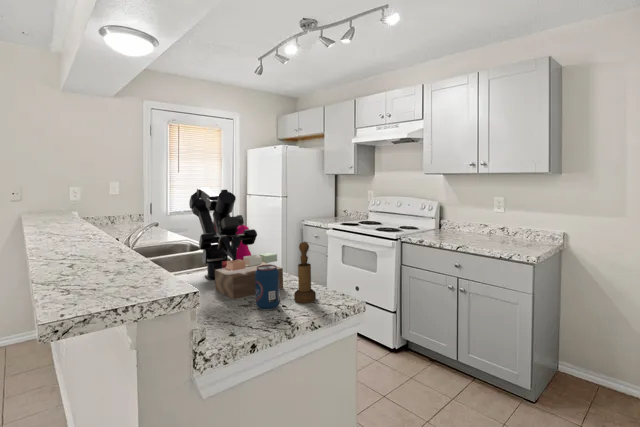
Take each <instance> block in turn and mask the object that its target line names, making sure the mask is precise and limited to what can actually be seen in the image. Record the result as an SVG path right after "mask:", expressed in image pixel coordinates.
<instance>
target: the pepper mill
mask: <svg viewBox="0 0 640 427" xmlns="http://www.w3.org/2000/svg"><path fill="white" fill-rule="evenodd" d="M237 229H238V232H236V234H243V232H244V230H250V228H249V227H248V226H247V225H245V222H244V223H243V225H240V226H238V227H237ZM251 255H252V253H251V250H250V248H249V245H244V244H242V240H241V243H240V246H239V247H238V248H237V255H236V260H237V259H240V260H243V261H244V257H245V256H251Z"/></svg>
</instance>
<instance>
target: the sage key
mask: <svg viewBox="0 0 640 427" xmlns="http://www.w3.org/2000/svg"><path fill="white" fill-rule="evenodd" d="M258 256H261V257H262V262H264V263H268V264H271V263H274V262H278V254H277V253H274V252H266V253H265V252H263V253H260V254H259V255H258Z"/></svg>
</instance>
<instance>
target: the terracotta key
mask: <svg viewBox="0 0 640 427" xmlns="http://www.w3.org/2000/svg"><path fill="white" fill-rule="evenodd" d="M226 267H227V269H230V270H232V271H235V270H240V269H246V265H245V261H243V260H240V259H237V260H232V259H231V260H227V266H226Z"/></svg>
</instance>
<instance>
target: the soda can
mask: <svg viewBox="0 0 640 427" xmlns="http://www.w3.org/2000/svg"><path fill="white" fill-rule="evenodd" d="M277 267H278V265H276V264H271V265H261V266H258V267H257V270H256V272H255V289H256V295H255V304H256V307H257V308H258V309H259V310H261V311H273V310H276V309H278V307H279V305H280V303H281V302H280V300H281V297H280V296H281V294H280V293H281V292H280V290H281V289H279V271H278V270H277Z"/></svg>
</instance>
